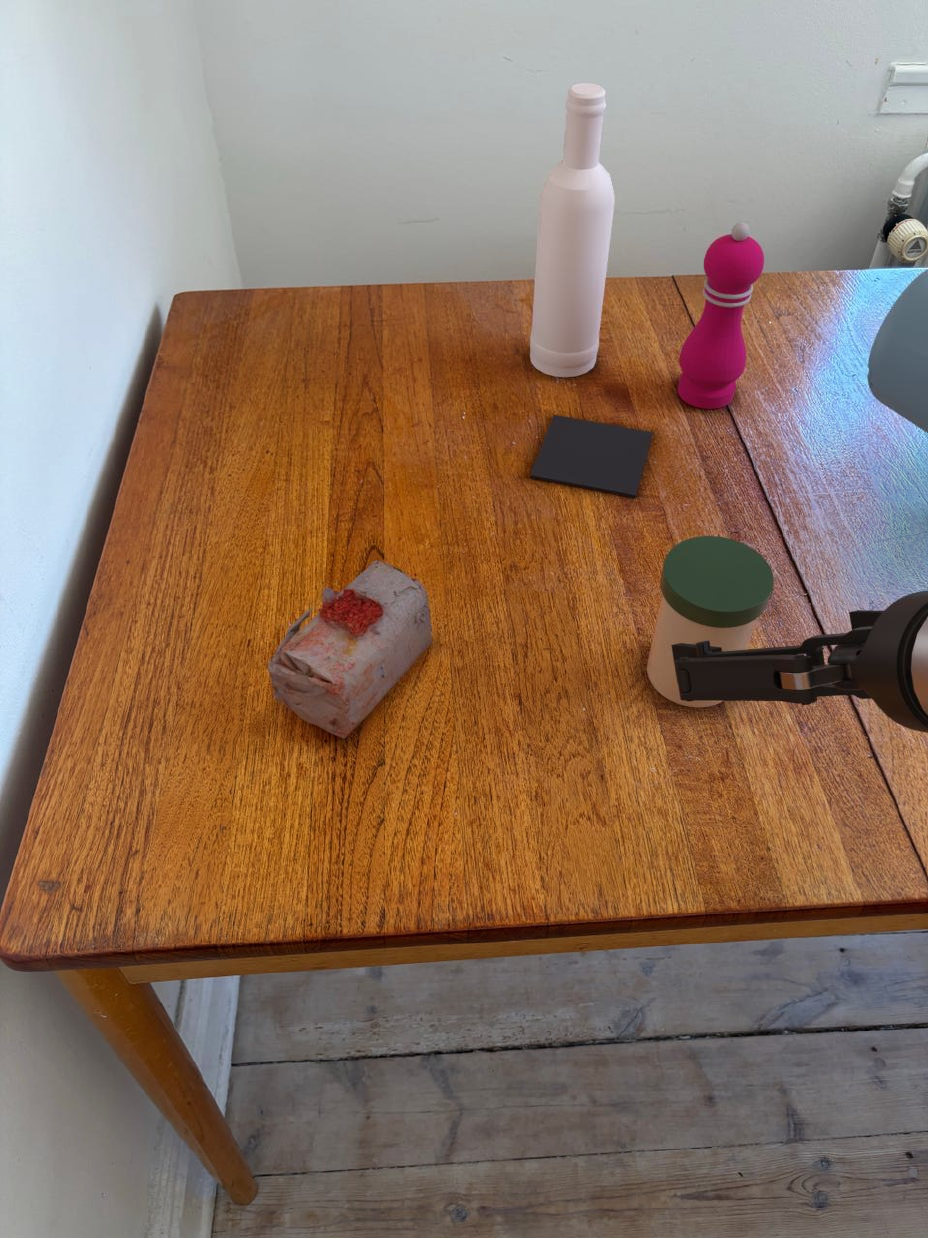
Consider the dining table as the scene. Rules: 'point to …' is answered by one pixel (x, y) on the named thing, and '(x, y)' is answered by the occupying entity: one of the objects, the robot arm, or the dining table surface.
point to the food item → (352, 649)
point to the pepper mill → (720, 321)
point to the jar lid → (716, 581)
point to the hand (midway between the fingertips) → (769, 646)
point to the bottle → (573, 244)
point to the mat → (592, 456)
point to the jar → (682, 630)
